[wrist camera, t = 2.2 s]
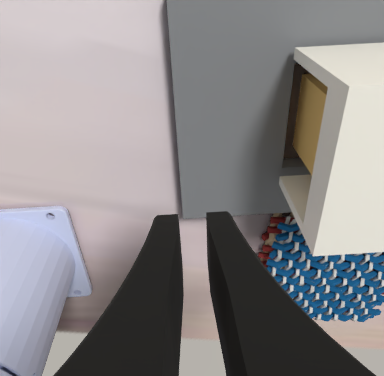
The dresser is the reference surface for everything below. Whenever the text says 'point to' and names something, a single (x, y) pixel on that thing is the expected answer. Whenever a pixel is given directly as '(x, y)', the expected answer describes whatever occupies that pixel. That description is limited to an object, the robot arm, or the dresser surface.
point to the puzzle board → (247, 92)
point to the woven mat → (322, 274)
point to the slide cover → (344, 153)
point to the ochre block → (309, 119)
